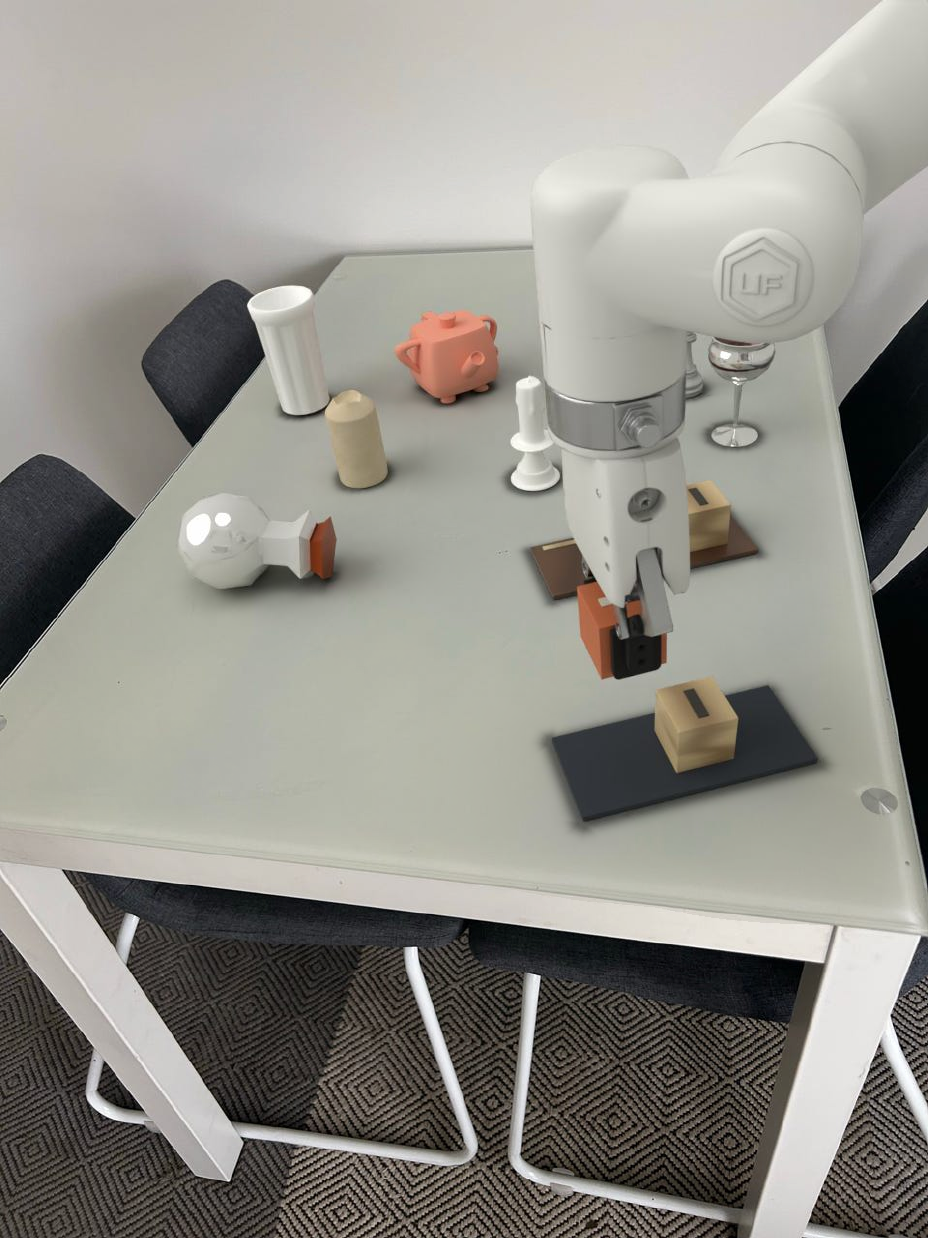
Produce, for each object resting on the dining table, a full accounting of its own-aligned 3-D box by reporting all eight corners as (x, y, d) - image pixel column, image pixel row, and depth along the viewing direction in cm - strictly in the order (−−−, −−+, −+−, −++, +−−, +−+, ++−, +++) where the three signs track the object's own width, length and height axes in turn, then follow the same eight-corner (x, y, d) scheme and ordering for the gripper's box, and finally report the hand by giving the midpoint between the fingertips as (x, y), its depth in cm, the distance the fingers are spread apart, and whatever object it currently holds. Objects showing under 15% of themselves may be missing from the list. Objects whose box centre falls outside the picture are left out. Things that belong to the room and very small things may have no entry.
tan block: (709, 716, 73) (712, 674, 70) (734, 759, 69) (738, 717, 66) (654, 730, 72) (655, 688, 69) (676, 773, 69) (678, 731, 66)
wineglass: (763, 453, 101) (774, 348, 93) (699, 448, 103) (705, 345, 95) (768, 421, 105) (780, 319, 97) (707, 418, 107) (713, 317, 100)
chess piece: (708, 394, 111) (713, 313, 105) (673, 401, 111) (676, 321, 105) (694, 378, 115) (698, 299, 108) (660, 385, 114) (662, 306, 108)
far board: (722, 508, 94) (722, 503, 94) (757, 553, 88) (758, 548, 87) (530, 551, 92) (530, 546, 92) (553, 600, 86) (553, 595, 86)
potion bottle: (195, 581, 97) (337, 592, 96) (156, 587, 87) (313, 600, 86) (199, 491, 96) (342, 502, 95) (160, 487, 86) (319, 499, 85)
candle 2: (522, 462, 105) (514, 362, 97) (567, 468, 103) (562, 367, 95) (503, 487, 101) (493, 386, 93) (549, 495, 99) (542, 392, 91)
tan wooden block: (708, 518, 92) (711, 478, 89) (727, 543, 89) (731, 503, 86) (664, 527, 92) (666, 488, 89) (682, 554, 88) (684, 513, 85)
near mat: (767, 689, 75) (768, 684, 74) (817, 762, 69) (818, 758, 68) (551, 741, 73) (551, 737, 73) (583, 821, 67) (582, 817, 67)
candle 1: (386, 486, 104) (370, 405, 98) (337, 491, 104) (318, 411, 98) (390, 460, 108) (374, 381, 102) (343, 464, 109) (325, 386, 102)
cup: (347, 407, 119) (323, 298, 110) (288, 428, 117) (259, 318, 108) (323, 384, 125) (298, 279, 116) (266, 404, 123) (237, 298, 113)
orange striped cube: (642, 621, 65) (641, 569, 62) (667, 663, 61) (667, 610, 58) (580, 636, 64) (576, 585, 61) (601, 680, 61) (598, 627, 58)
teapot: (486, 413, 114) (478, 338, 108) (398, 405, 118) (385, 333, 112) (516, 369, 122) (510, 297, 116) (432, 363, 126) (422, 293, 120)
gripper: (749, 460, 45) (729, 720, 57) (627, 327, 58) (631, 562, 69) (599, 495, 44) (611, 751, 56) (509, 354, 57) (534, 585, 69)
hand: (622, 644), depth 63 cm, fingers closed on orange striped cube, 4 cm apart
